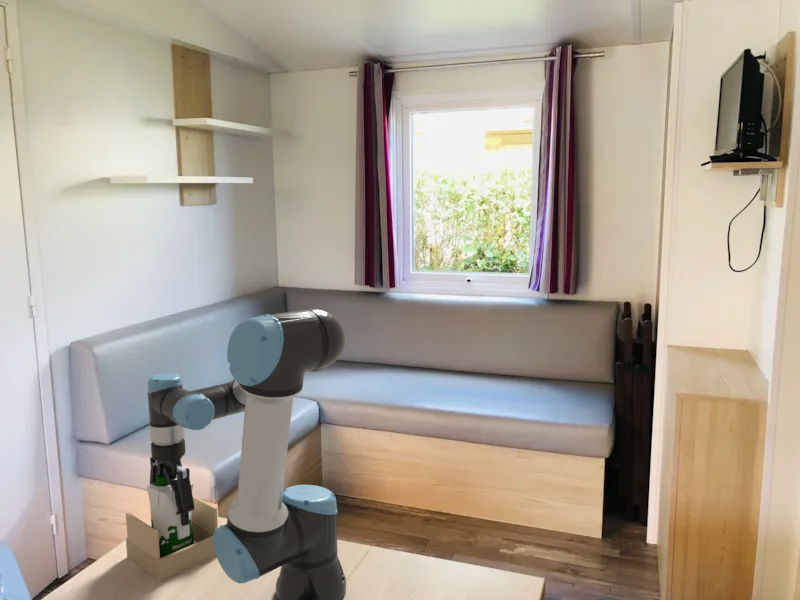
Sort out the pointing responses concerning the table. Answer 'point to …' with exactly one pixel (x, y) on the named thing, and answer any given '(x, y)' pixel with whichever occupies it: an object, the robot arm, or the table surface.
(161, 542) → the soya milk
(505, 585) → the table surface
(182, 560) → the wooden tray box
